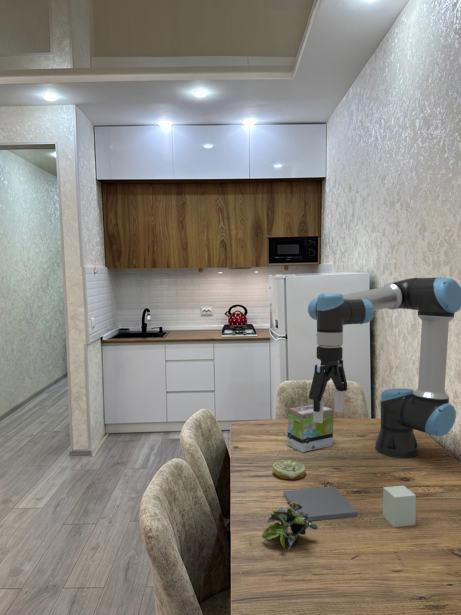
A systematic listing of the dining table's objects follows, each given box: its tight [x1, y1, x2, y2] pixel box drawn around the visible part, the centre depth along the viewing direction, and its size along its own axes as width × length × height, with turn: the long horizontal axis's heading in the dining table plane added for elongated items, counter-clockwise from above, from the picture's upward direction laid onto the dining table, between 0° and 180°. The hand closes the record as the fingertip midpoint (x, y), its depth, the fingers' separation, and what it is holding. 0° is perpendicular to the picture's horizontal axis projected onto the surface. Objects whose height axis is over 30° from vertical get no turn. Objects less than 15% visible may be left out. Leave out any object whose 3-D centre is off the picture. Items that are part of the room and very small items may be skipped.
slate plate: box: [283, 486, 358, 522], centre depth 134 cm, size 16×16×1 cm
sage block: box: [382, 485, 417, 528], centre depth 126 cm, size 6×6×8 cm
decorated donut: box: [272, 459, 307, 481], centre depth 156 cm, size 10×11×4 cm
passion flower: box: [261, 501, 319, 553], centre depth 115 cm, size 11×11×12 cm
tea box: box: [286, 404, 334, 453], centre depth 182 cm, size 15×10×15 cm, turn 120°
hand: (328, 416), depth 140 cm, fingers open, 13 cm apart
